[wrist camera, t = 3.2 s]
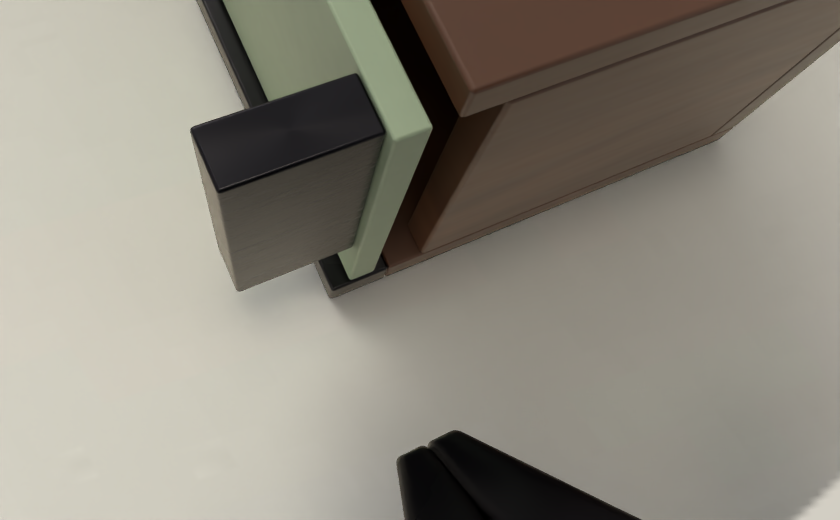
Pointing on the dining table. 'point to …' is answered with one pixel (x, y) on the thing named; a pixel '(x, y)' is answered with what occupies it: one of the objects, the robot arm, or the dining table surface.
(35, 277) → the dining table surface
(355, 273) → the sliding cabinet door
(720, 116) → the cabinet
